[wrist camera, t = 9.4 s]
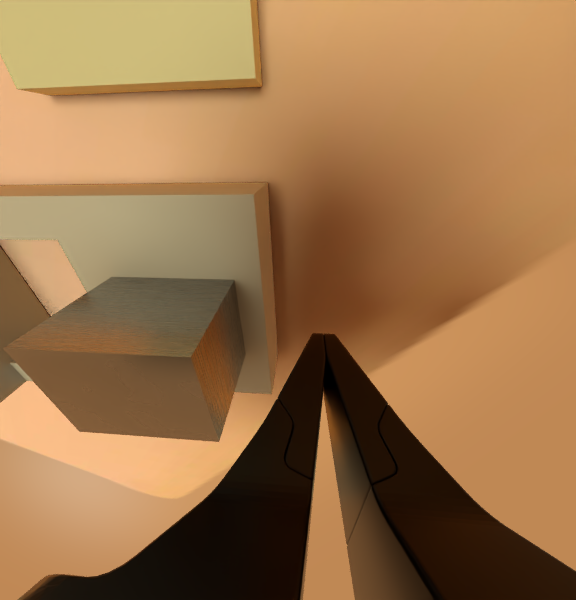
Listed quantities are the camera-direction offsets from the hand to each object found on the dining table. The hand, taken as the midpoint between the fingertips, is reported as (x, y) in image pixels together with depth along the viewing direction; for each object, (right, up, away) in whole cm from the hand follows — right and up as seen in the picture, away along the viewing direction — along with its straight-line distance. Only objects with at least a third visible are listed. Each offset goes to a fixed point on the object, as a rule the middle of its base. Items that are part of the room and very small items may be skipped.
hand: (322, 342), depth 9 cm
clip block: (-6, +1, +1) cm, 6 cm away
